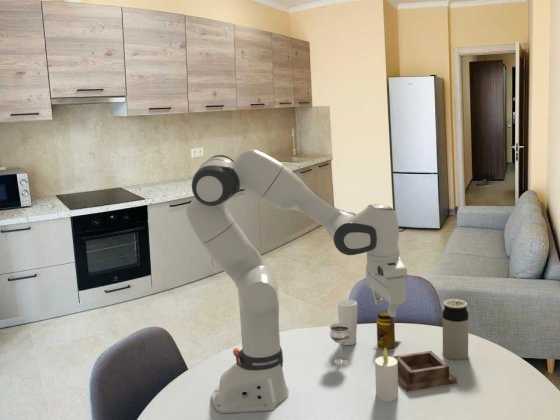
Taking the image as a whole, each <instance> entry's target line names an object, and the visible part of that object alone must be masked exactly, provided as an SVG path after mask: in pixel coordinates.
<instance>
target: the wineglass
mask: <svg viewBox="0 0 560 420" xmlns="http://www.w3.org/2000/svg"><path fill="white" fill-rule="evenodd" d="M329 328H330V330H329V337H330V339H331V340H332V341H333V342H335V343H337V344H338V346H339V354H340V355H339V356H340V358H336V359H335V360H333V363H334V364H335V365H337V366H345V365H348V364H350V361H349V359H347V358H343V353H342V351H343V349H342V348H343V345H344V344H343V343H344V342H346V341H347V340H348V339H349V338H350V335H351V332H350V330H349V329H350V326H349V325H347V324H342V323H339V322H338V323H333V324H331V325H330V326H329Z"/></svg>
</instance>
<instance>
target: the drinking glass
mask: <svg viewBox="0 0 560 420" xmlns="http://www.w3.org/2000/svg"><path fill="white" fill-rule="evenodd" d="M337 316H338V323H342V324H347V325H349V326H350V329H349V330H350V332H351V335H350V338H349V339H348V340H347V341H346V342H344V343H343V344H342V345H344V346H353V345H355V344H357V330H358V329H357V327H358V302H357V301H356V300H353V299H342V300H340V301H338V302H337Z"/></svg>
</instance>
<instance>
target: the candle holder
mask: <svg viewBox="0 0 560 420" xmlns="http://www.w3.org/2000/svg"><path fill="white" fill-rule="evenodd" d="M393 358H395V359H396V360H397V361H398V385H400V386H401V387H402V389H403V390H404V391H405V392H414V391H421V390H427V389H431V388H437V387H438V388H439V387H443V386H450V385H455V384H458V378H457V377H456V376H455V375H453V373H451V371H450V365H448V364H447V363H446V362H444V360H442V359H441V358H440V357H439V356H438V355H437V354H436V353H435V352H433V351H432V350H428V351H419V352H415V353H406V354H401V355H395V356H394V357H393Z"/></svg>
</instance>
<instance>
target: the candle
mask: <svg viewBox="0 0 560 420" xmlns="http://www.w3.org/2000/svg"><path fill="white" fill-rule="evenodd" d="M382 351H383V352H382V353H383V354H382V356H379V357H376V358H375V360H374V367H375V369H374V371H375V372H374V374H375V396H376V398H377V399H378V400H380V401H385V402H391V401H395V400H396V399H398V398H399V383H398V361H397V360H396V359H395V358H394V357H393V356H390V355H389V356H388V351H387V349H386V348H385V349H384V350H382Z"/></svg>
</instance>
